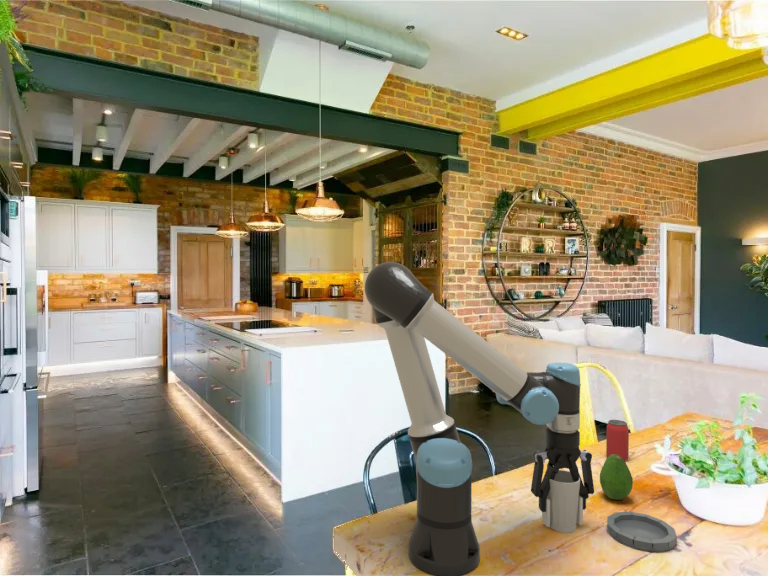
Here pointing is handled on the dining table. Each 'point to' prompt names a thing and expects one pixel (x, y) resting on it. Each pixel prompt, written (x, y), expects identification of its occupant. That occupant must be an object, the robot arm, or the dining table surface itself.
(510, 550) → the dining table surface
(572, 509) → the cup
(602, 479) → the fruit
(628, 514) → the saucer
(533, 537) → the dining table surface
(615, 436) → the beer can
